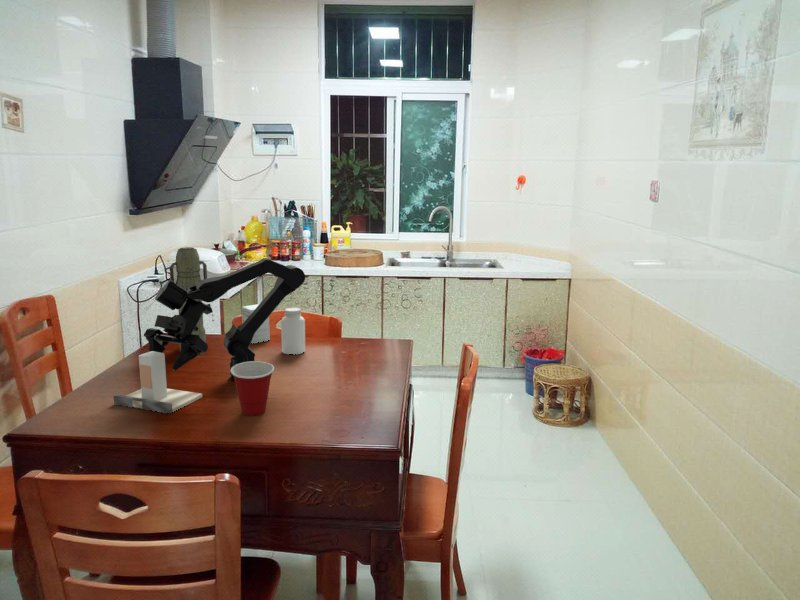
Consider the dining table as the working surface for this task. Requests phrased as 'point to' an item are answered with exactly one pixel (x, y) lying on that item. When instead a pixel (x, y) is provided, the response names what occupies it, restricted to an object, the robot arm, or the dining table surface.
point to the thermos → (189, 277)
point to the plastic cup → (252, 385)
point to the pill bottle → (293, 332)
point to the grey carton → (153, 375)
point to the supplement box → (263, 330)
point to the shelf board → (164, 405)
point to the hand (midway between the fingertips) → (160, 367)
